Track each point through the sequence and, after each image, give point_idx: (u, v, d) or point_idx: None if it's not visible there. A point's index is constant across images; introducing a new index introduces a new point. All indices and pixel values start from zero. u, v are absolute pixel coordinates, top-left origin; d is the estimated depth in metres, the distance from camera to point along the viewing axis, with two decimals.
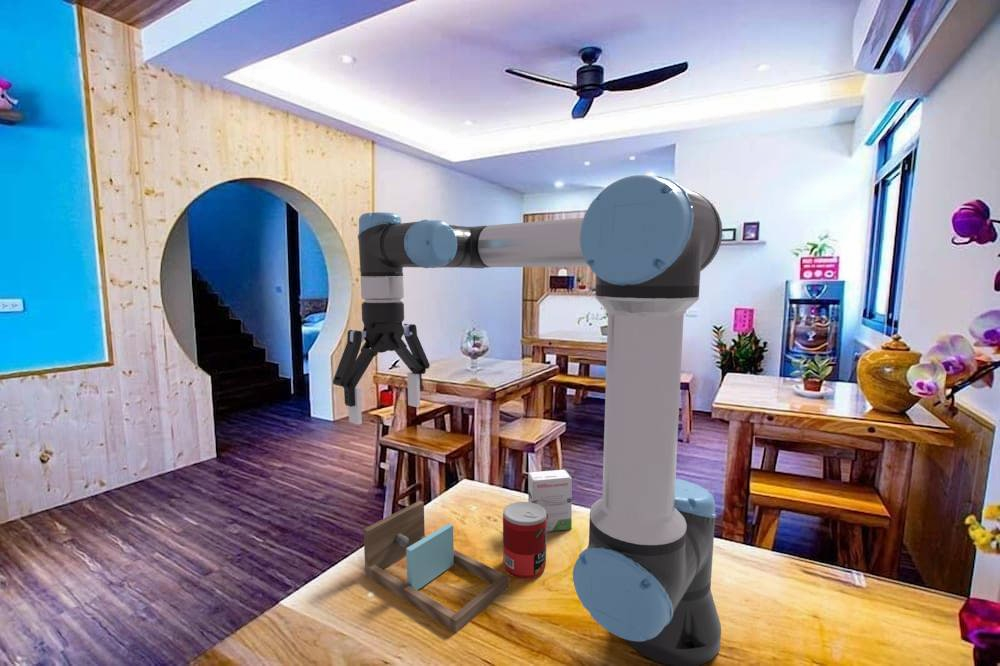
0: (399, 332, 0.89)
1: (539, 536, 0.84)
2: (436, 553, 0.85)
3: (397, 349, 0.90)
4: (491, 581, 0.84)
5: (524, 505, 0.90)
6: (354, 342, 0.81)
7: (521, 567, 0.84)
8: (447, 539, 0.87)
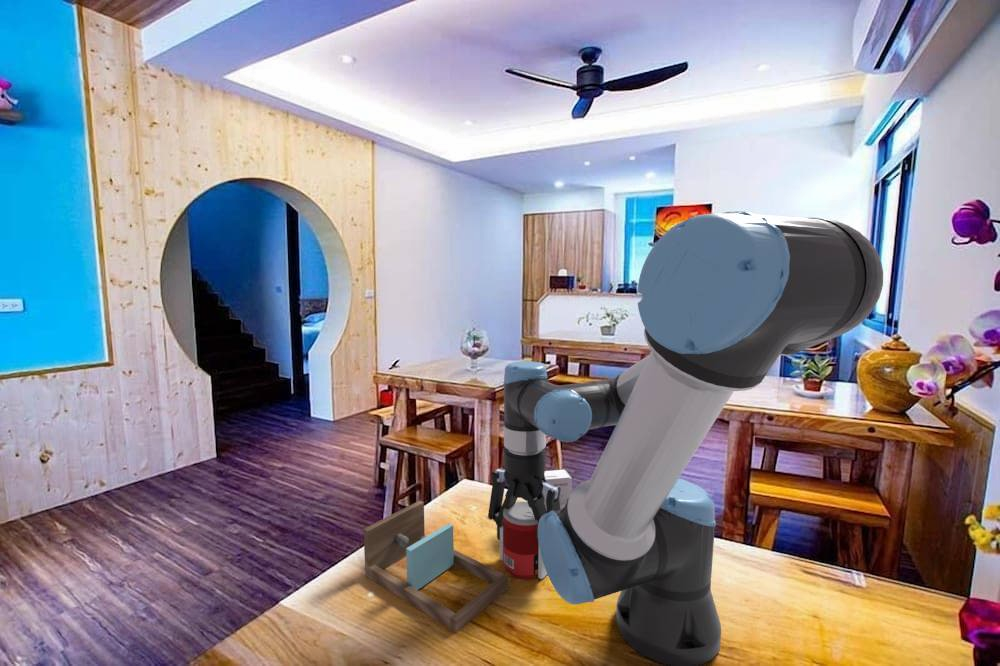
0: (533, 485, 0.84)
1: None
2: (436, 553, 0.85)
3: None
4: (491, 581, 0.84)
5: (524, 505, 0.90)
6: (493, 481, 0.90)
7: (521, 566, 0.84)
8: (447, 539, 0.87)
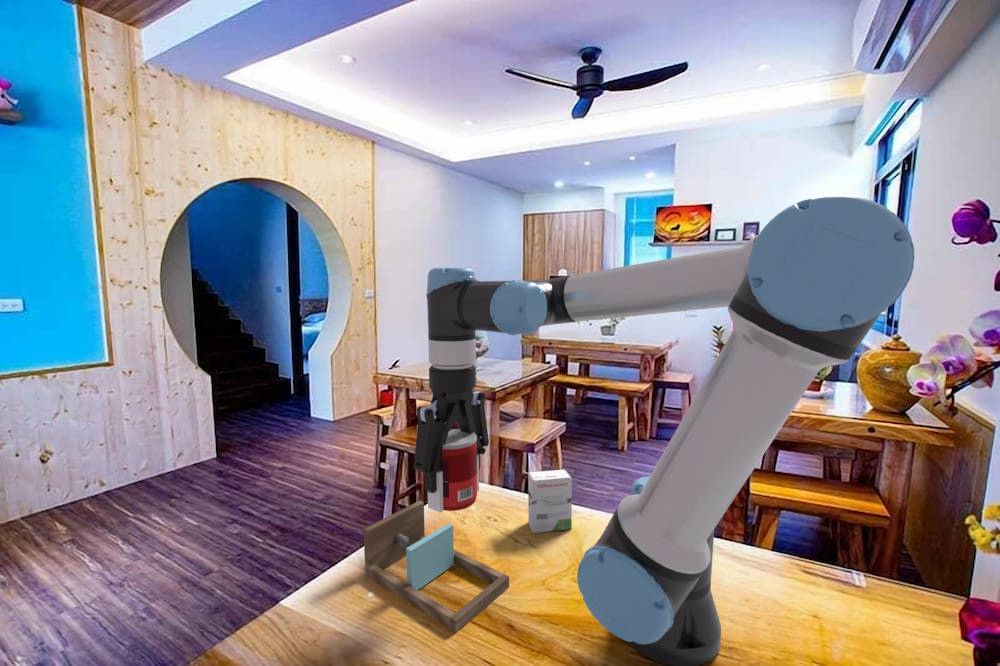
0: (469, 398, 0.79)
1: None
2: (436, 553, 0.85)
3: (462, 420, 0.79)
4: (491, 581, 0.84)
5: None
6: (427, 423, 0.72)
7: (476, 488, 0.78)
8: (447, 539, 0.87)
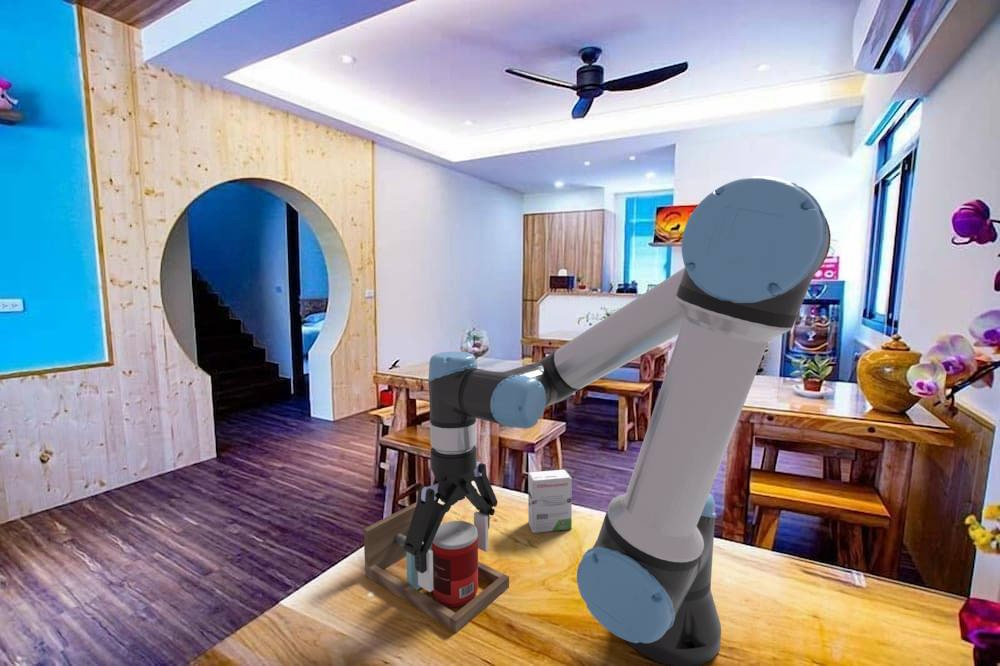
0: (470, 477, 0.80)
1: None
2: None
3: (466, 494, 0.82)
4: (491, 581, 0.84)
5: (438, 533, 0.80)
6: (427, 503, 0.73)
7: (477, 581, 0.80)
8: None
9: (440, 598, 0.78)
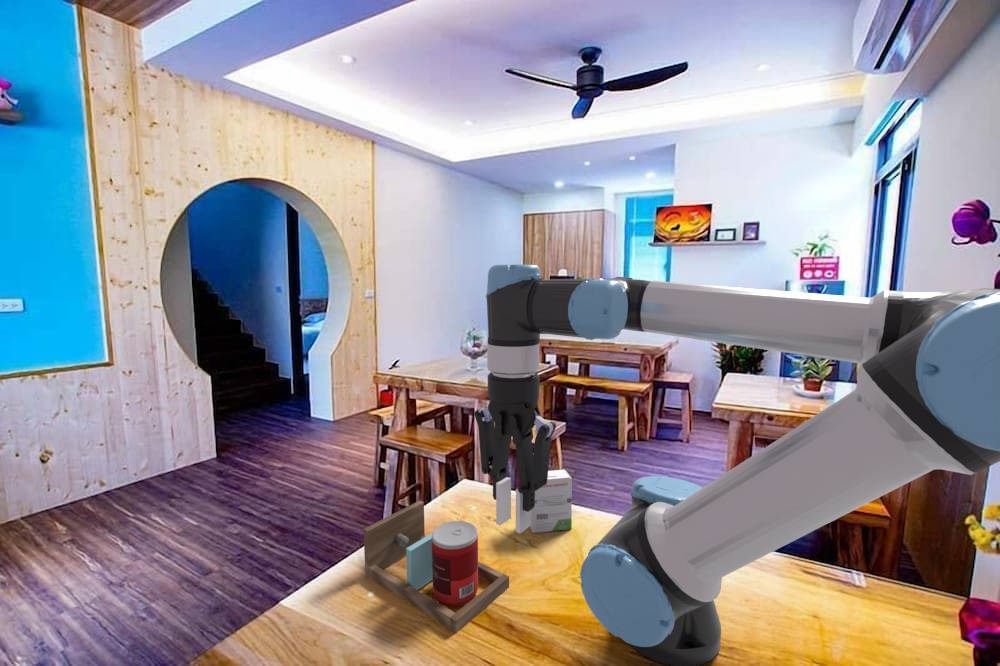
0: (523, 416, 0.67)
1: None
2: None
3: None
4: (491, 581, 0.84)
5: (438, 533, 0.80)
6: None
7: (477, 582, 0.80)
8: None
9: (440, 598, 0.78)
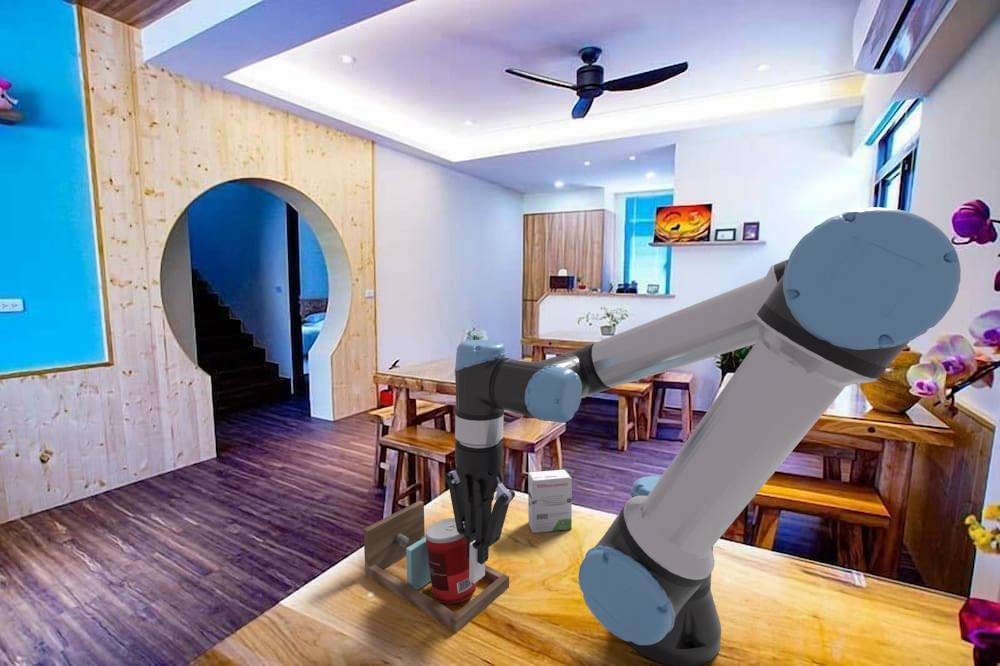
0: (487, 481, 0.73)
1: None
2: None
3: None
4: (491, 581, 0.84)
5: (432, 530, 0.81)
6: None
7: None
8: None
9: (439, 595, 0.78)
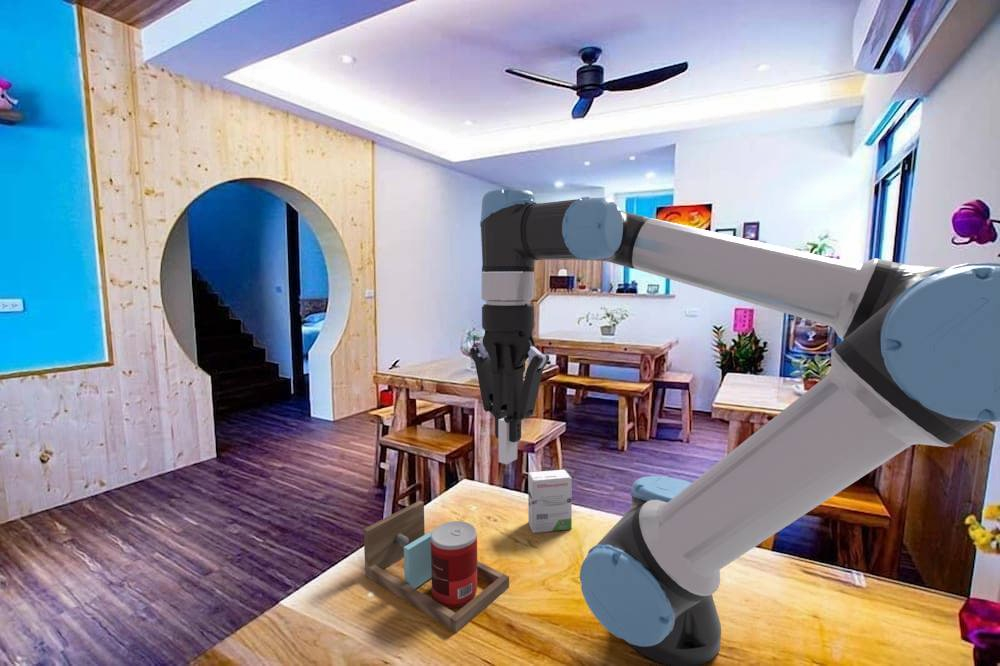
0: (518, 345, 0.66)
1: None
2: None
3: None
4: (491, 581, 0.84)
5: (437, 533, 0.80)
6: None
7: (475, 582, 0.80)
8: None
9: (438, 598, 0.78)
